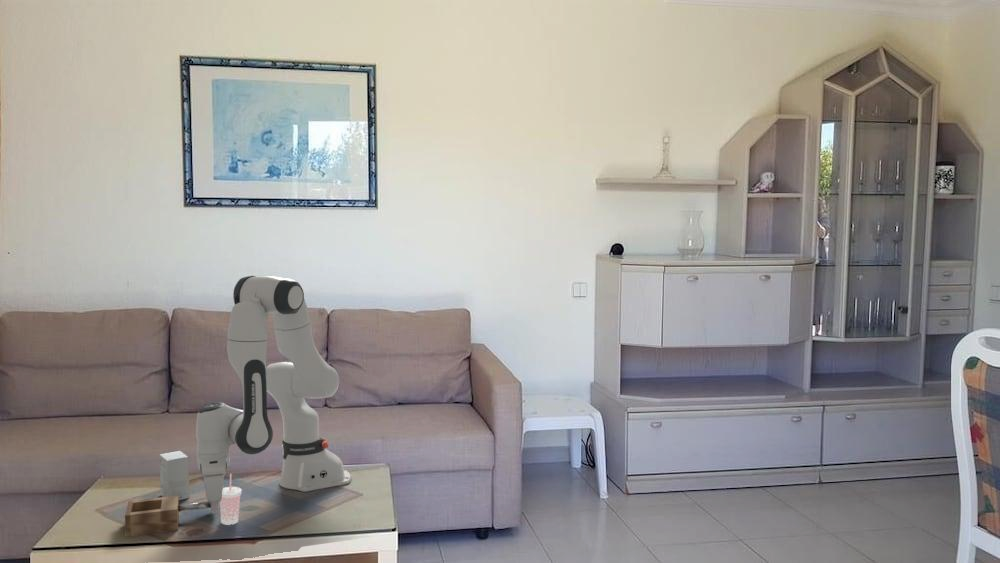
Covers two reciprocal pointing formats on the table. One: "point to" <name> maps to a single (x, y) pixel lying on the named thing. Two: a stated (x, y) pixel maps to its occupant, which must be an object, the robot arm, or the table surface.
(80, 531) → the table surface
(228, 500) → the beverage cup
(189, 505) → the lock pin
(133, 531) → the socket block
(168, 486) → the small box
